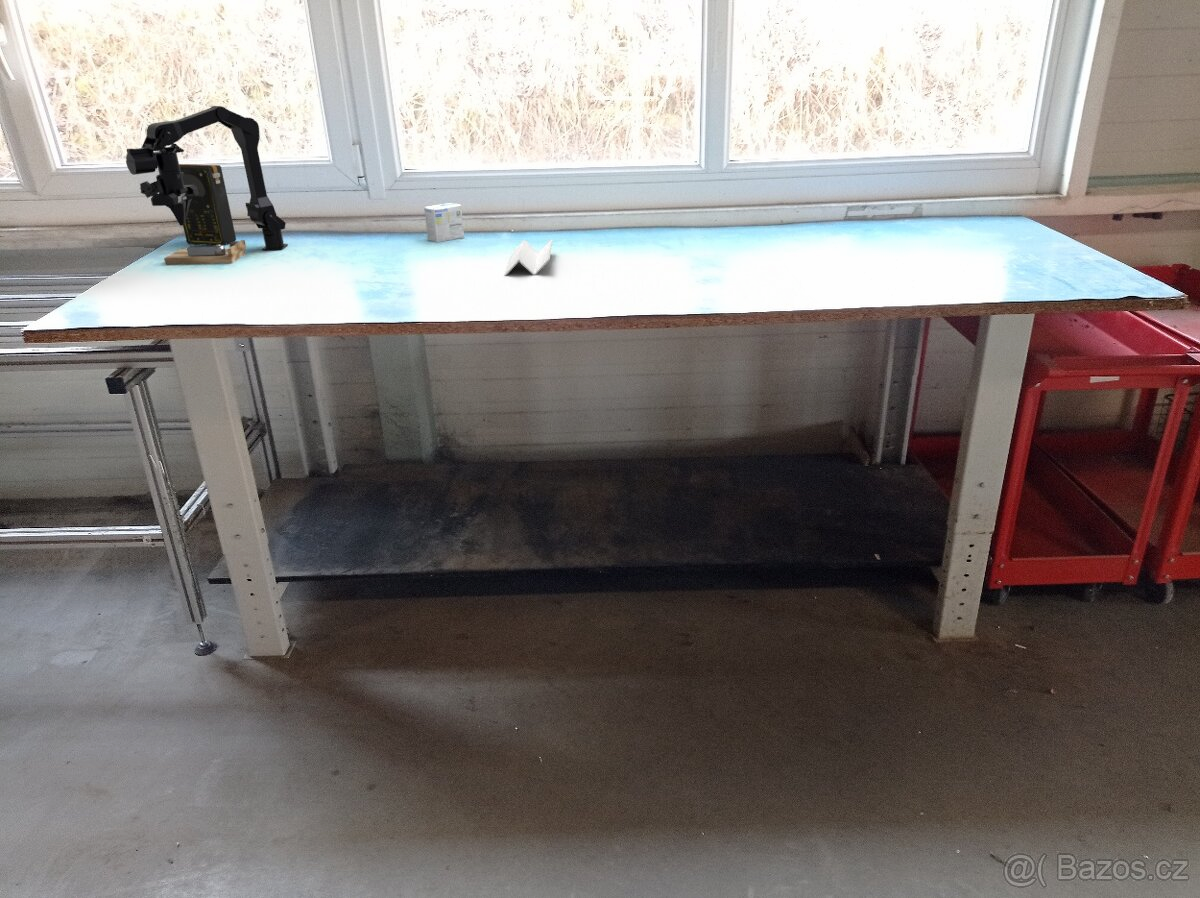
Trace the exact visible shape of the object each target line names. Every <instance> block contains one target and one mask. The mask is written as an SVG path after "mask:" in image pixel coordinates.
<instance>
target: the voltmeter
mask: <svg viewBox="0 0 1200 898" xmlns="http://www.w3.org/2000/svg"><path fill="white" fill-rule="evenodd" d="M179 166H180V170H181V172H184V176H183V177H182V179H183V183H184V185H195V186H196V187H197V188H198V192H199V194H198V195H196V196H193V194H190V195H185V196H186V198H187V199H191V202H190V205H189V209H188V213H187V217H186V221H185V225H182V228H183V232H184V236H185V239H186V243H187V244H189V245H200V244H206V245H218V244H221V245H225V246H226V245H228V244H230V243H231V242H233V241H237V237H236V232H235V227H234V222H233V217H232V213H231V208H230V207H231V206H230V204H229V203H230V202H229V197H228V194H227V190H226V184H225V178H224V175H223V174H224V173H223V169H222V166H221V165H219V164H193V163H192V164H188V163H187V164H186V163H185V164H184V163H183V164H182V163H179Z"/></svg>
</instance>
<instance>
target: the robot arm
mask: <svg viewBox="0 0 1200 898" xmlns="http://www.w3.org/2000/svg"><path fill="white" fill-rule="evenodd" d="M216 123H220V124H221V125H222V126H224V127H226V128H228V129H230V130H231V132H232V135H233V136H232V137H233V138H234V140H235V142H236V143H237V146H239V148H240V151H241V155H242V156H241V157H242V160H243V165H244V170H245V174H246V175H245V176H246V178H247V179H246V180H247V184H248V188H249V194H250V199H249V202H245V207H246V210H247V214H246V215H247V217H249V219H250V221H252V222H253V223H254V224H255V225H256V226H257V228H258V229H261V231H262V235H263V241H264V246H263V247H262V248H261V250H262V251H276V250H278V251H279V250H283V249H285V248H286V247H287V246H289V244H288V243H284V242H285V241H284V238H283V232H282V230H285V229H286V225H287V224H286V221H285V220H283V219H282V218H280V217H279V216H278V214H277V212H276V210H275V206H274V204H273V203H272V201H271V200H270V198H269V196H268V193H267V188H266V184H265V179H264V174H263V169H262V164H261V160H260V154H259V148H258V147H259V143H260V139H261V138H260V134H261V133H260V125H259V123H258V122H257V120H255V119H254V118H252V117H246V116H245V117H244V116H243V115H240V114H238V113H236V112H234V111H231V110H229V109H228V108H225V106H222V105H212V106H211V107H210V108H207V109H203V110H202V111H201V110H200V111H199V112H196V113H193V114H190V115H187V116H185V117H181V118H178V119H176V120H169V121H168V120H167V121H160V122H153V123H150V124H149V125H148V126H147V129H146V135H145V138H144V141H143V144H142V146H141V147H137V148H126V156H125V159H126V160H125V163H126V167H127V169H128V171H129V173H130V174H132V176H133V175H143V174H150V173H155V172H156V171H157V170H158V174H157V175H156V177H155V178H156V181H153V182H149V181H148V180H147V181H143V182H141V183H139V186H140V187H139V189H140V193H141V194H142V195H144V196H145V197H146V198H147V199H148V198H150V202H151V205H152V206H153V207H161V206H163V207H164V206H165V207H167V208H168V209H170V211H171V212H172V214H173V216H174V217H175V219H176V221H177V223H178V224H179V226H183V225H185V221H186V217H187V213H188V209H189V205H190V202H191V199H187V198H186V196H185V195H190V194H193V196H196V195H198V194H199V192H198V188H197V187H196V186H195V185H184V183H183V179H182V177H183V176H184V172H181V170H180V166H179V164H180V163H179V158H178V154H179V153H184V152H185V150H184V149H183V148H181V147H180V146H179V145H178V144H177V142H179V141H180V140H181V139H182V138H183V137H185V136H186V135H187V134H190V133H192V132H194V131H195V132H196V131H198V130H201V129H203V128H205V127H208V126H211V125H214V124H216ZM177 153H178V154H177ZM152 206H151V207H152Z"/></svg>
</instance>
